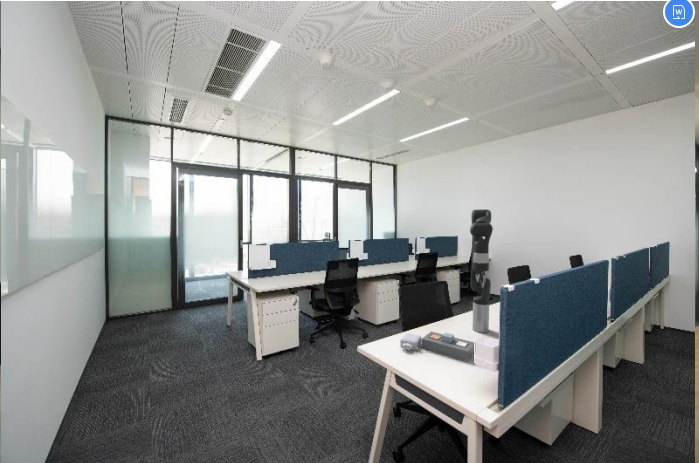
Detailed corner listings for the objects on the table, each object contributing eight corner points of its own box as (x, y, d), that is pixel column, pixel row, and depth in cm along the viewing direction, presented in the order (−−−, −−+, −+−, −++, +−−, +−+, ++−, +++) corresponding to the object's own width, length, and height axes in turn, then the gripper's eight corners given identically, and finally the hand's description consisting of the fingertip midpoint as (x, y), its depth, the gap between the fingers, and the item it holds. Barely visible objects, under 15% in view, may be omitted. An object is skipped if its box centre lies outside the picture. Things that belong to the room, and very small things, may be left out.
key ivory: (458, 350, 150) (458, 341, 150) (467, 352, 147) (467, 343, 147) (455, 353, 146) (455, 344, 146) (464, 356, 143) (464, 346, 143)
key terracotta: (432, 343, 159) (432, 334, 159) (440, 345, 156) (440, 336, 156) (429, 346, 155) (429, 336, 155) (437, 348, 152) (437, 339, 152)
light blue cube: (445, 341, 154) (445, 332, 154) (453, 344, 151) (453, 334, 151) (442, 344, 151) (442, 335, 150) (450, 347, 148) (450, 337, 148)
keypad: (431, 339, 164) (431, 331, 164) (475, 352, 149) (475, 342, 148) (421, 347, 154) (421, 338, 153) (467, 361, 139) (467, 351, 138)
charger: (396, 351, 150) (405, 340, 163) (414, 355, 145) (421, 344, 159) (396, 342, 150) (405, 332, 163) (414, 346, 145) (421, 335, 158)
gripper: (477, 259, 156) (476, 290, 157) (469, 262, 146) (469, 295, 147) (491, 260, 152) (491, 292, 153) (485, 263, 141) (485, 298, 142)
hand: (480, 294), depth 150 cm, fingers closed
